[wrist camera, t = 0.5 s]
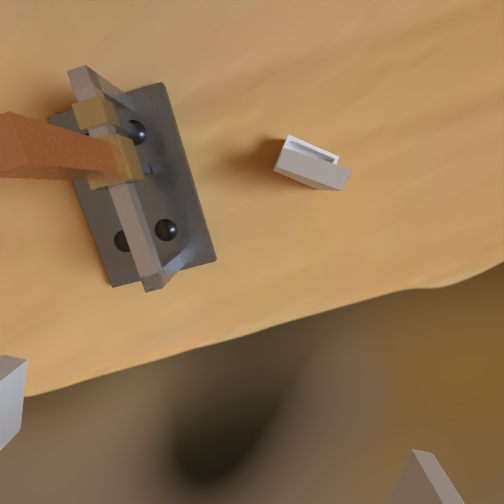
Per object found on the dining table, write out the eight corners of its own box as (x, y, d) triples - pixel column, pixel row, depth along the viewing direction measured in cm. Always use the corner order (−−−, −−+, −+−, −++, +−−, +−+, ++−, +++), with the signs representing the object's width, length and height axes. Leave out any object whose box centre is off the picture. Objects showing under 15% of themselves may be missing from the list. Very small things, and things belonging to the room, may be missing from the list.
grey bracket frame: (112, 102, 33) (59, 70, 24) (133, 95, 32) (87, 61, 24) (168, 269, 36) (139, 295, 27) (187, 264, 36) (164, 288, 27)
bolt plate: (55, 119, 34) (47, 116, 33) (165, 85, 33) (161, 81, 32) (116, 284, 38) (111, 288, 37) (216, 258, 37) (215, 261, 36)
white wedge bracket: (359, 205, 33) (342, 190, 25) (282, 176, 37) (247, 156, 30) (375, 173, 32) (361, 148, 25) (294, 147, 37) (262, 119, 29)
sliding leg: (123, 157, 33) (-55, 116, 14) (155, 148, 33) (15, 94, 14) (135, 189, 34) (-22, 192, 15) (165, 181, 34) (46, 172, 15)
